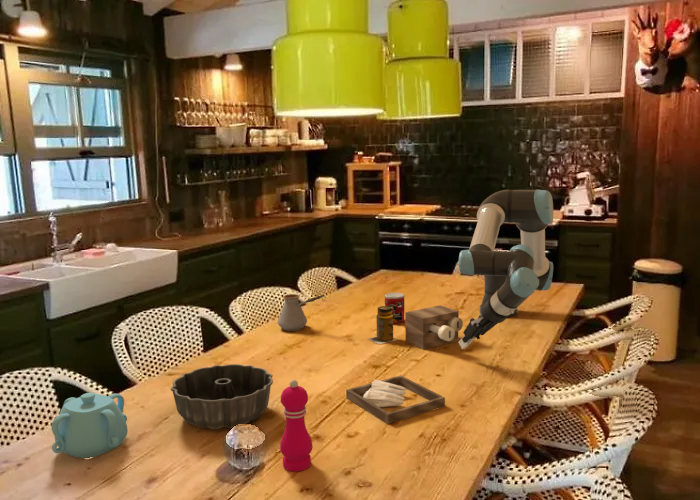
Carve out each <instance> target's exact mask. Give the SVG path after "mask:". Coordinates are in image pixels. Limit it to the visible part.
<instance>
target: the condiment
mask: <svg viewBox="0 0 700 500" xmlns="http://www.w3.org/2000/svg"><path fill="white" fill-rule="evenodd" d="M375 317H376V336H375V337H370V338H368V340H369V341H371V342H373V343H375V344H377V345H382V344H386V343H392V342H395V341H399V339H397V338H395V337H394V324H393V314H392V308H391V307H389V306H385V305H381V306H378V307H377V314H376V316H375Z"/></svg>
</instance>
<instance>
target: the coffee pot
mask: <svg viewBox="0 0 700 500" xmlns="http://www.w3.org/2000/svg"><path fill="white" fill-rule="evenodd" d="M300 297H301V296H300V295H299V294H295V293H293V294H292V293H289V294H284V295H283V296H282V298H283V300H284V304H283V306H282V309H281V310H280V314H279V317H278V320H277V324H278V326H279V327H280V328H282V330H284V331H288V332H296V331H300V330H302V329H303V328H304V327H305V326H306V325H307V323H308V319H307V316H306V314H305V312H304V310H303V308H302V307H301V306H302V305H304V304H306V303H311V302H315V301H317V300H319V299H322V301H324V300H327V297H326V296H325V295H324V294H320V295H317V296H315V297H311V298H309V299H307V300H304V301H301V302H299V299H300ZM323 298H325V299H323Z"/></svg>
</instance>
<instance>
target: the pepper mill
mask: <svg viewBox="0 0 700 500" xmlns="http://www.w3.org/2000/svg"><path fill="white" fill-rule="evenodd" d="M308 401H309V395H308V392H307V390H306V389H305V388H304V387H303V386H301V385H299V381H298V380H295V379H291V380H290V382H289V386H287V387H285V388H284V389H283V390H282V392H281V395H280V403H281V405H282V406H283V416H284V417H285V426H284V427H285V428H284V431H283V434H282V437H281V439H280V442H279V443H280V445H279V450H280V454H282V455H283V456H282V467H283V468H284V469H285V470H286V469H287V471H289V470H290V471H289V472H294V471H296V472H301V471H302V470H303V471H305V470H307V469H309V468H310V467H311V465H312V456H311V455H310V454H311V452H312V450H313V447H314V446H313V440H312V437H311V434H310V433H309V432H308V429H307V427H306V422H305V421H306V420H305V416H306V414H307V407H306V406H307V404H308ZM309 466H310V467H309ZM308 467H309V468H308Z"/></svg>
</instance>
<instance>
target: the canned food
mask: <svg viewBox="0 0 700 500" xmlns="http://www.w3.org/2000/svg"><path fill="white" fill-rule="evenodd" d="M384 306H389V307H391V308H392V314H393V325H401V324H403V323H405V294H404V293H401V292H388V293H385V295H384Z"/></svg>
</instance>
